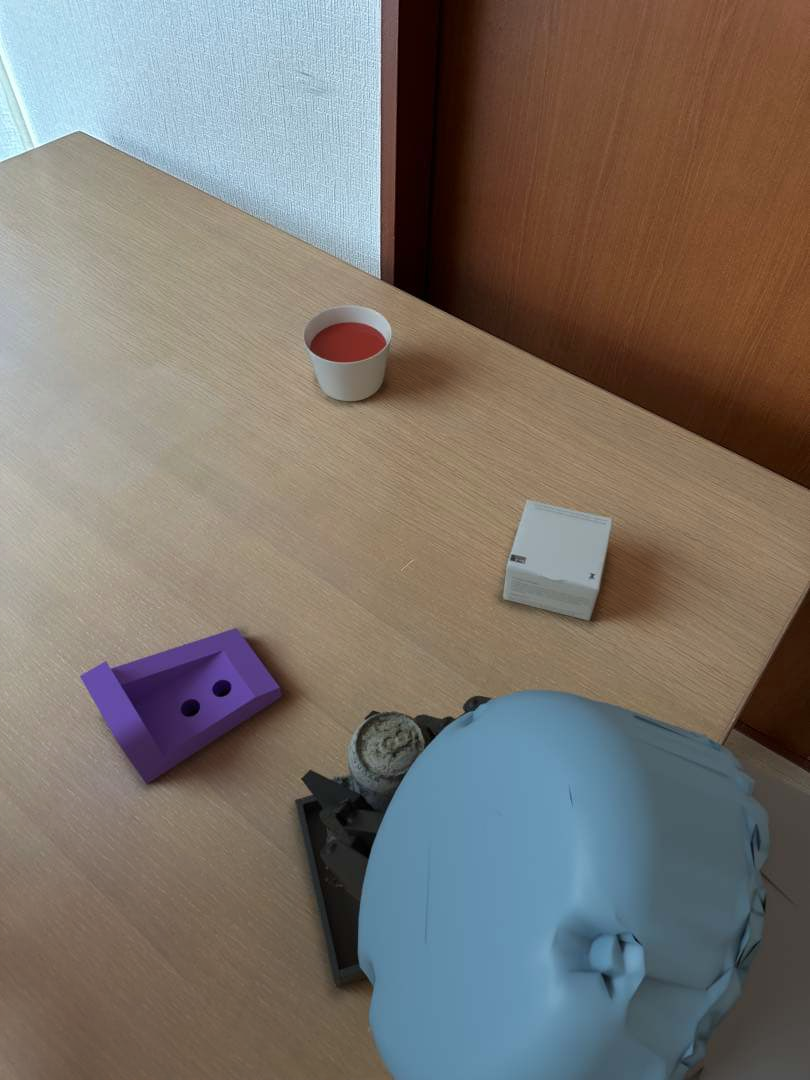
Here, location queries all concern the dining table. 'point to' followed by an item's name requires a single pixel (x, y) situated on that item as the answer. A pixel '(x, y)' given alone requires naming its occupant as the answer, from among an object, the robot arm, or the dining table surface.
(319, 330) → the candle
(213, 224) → the dining table surface
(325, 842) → the black tray
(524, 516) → the small box
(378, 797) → the beverage can
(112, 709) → the bracket
